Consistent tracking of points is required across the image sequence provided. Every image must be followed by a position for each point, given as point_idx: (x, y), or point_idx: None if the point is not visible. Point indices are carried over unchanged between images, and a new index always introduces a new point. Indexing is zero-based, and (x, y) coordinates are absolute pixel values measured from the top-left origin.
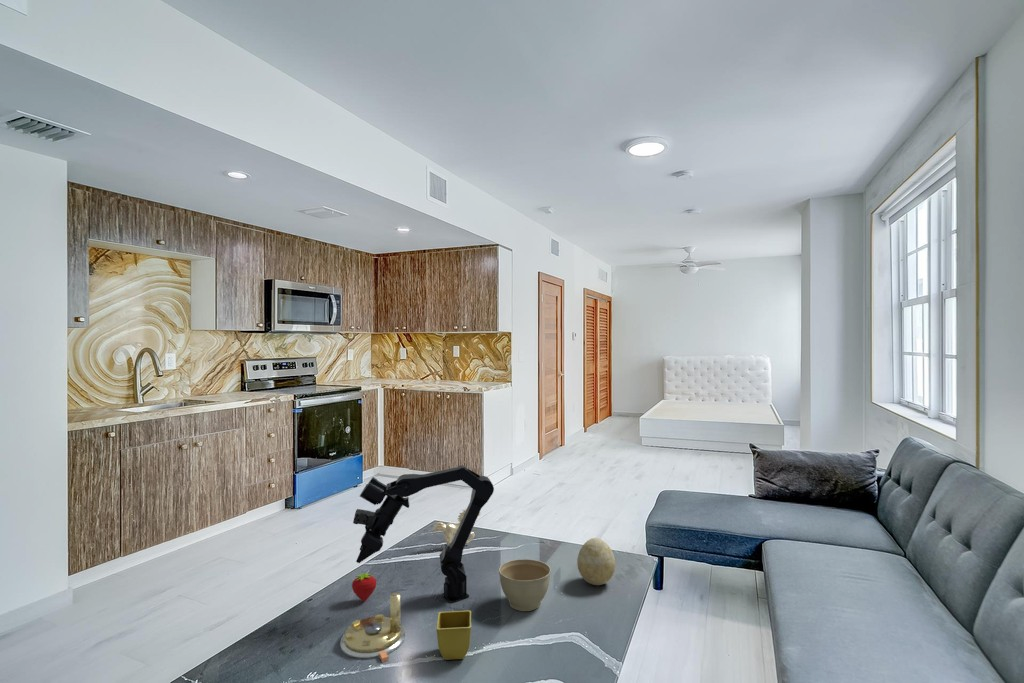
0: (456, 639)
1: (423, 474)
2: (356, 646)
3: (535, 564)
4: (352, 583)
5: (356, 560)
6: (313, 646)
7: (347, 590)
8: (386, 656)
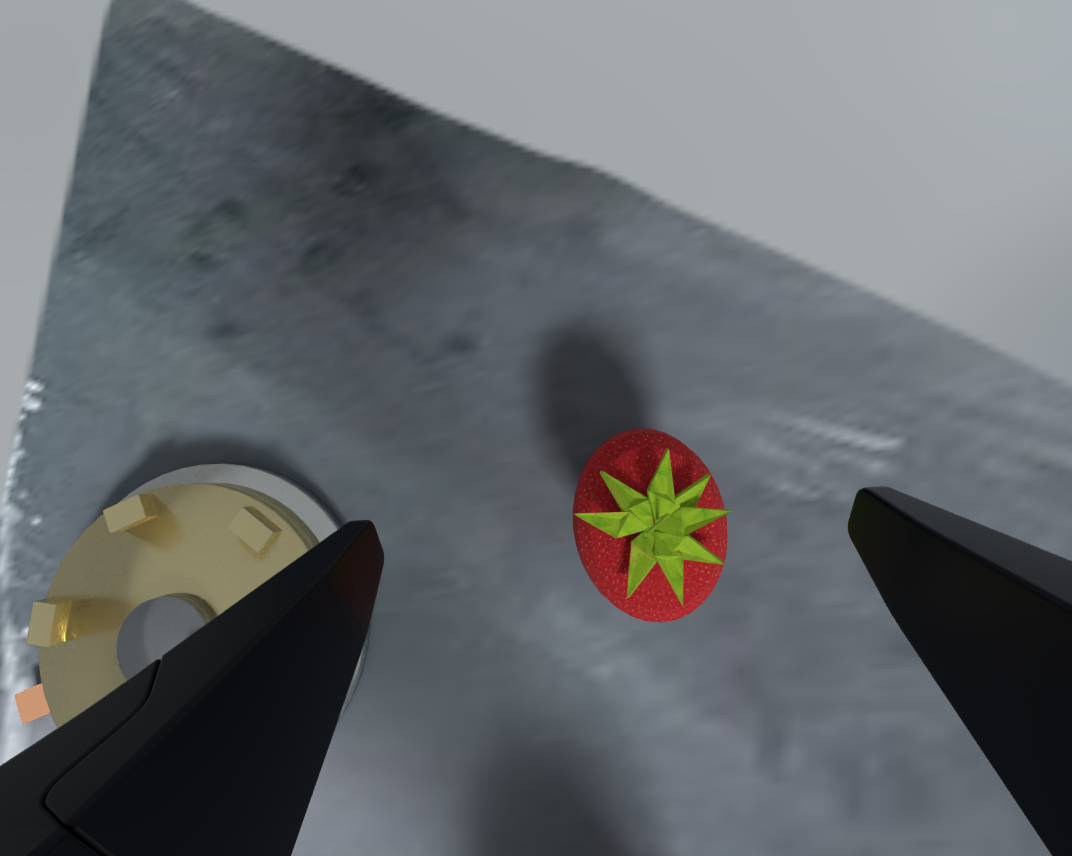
0: None
1: None
2: (61, 567)
3: None
4: (625, 434)
5: (354, 525)
6: (218, 343)
7: (788, 378)
8: (23, 715)
